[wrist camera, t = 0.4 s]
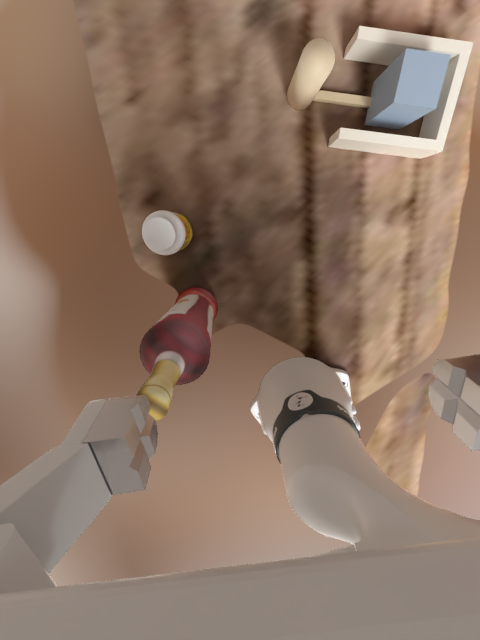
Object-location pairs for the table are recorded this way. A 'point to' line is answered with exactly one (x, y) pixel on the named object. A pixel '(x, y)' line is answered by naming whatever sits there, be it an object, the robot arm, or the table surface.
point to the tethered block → (374, 85)
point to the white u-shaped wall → (435, 125)
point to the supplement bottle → (166, 232)
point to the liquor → (177, 347)
